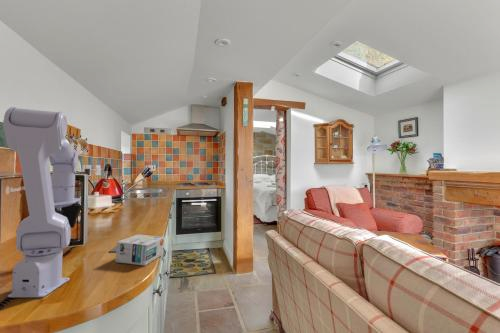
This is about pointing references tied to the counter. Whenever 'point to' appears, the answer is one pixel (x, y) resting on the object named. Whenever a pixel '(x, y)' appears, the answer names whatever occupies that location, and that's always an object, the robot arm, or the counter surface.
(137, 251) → the light bulb box
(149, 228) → the counter surface
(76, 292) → the counter surface
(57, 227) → the robot arm
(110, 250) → the mat
